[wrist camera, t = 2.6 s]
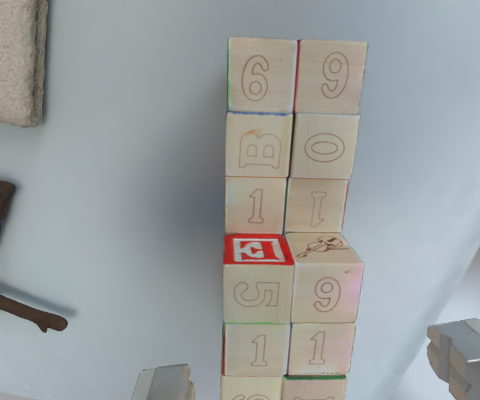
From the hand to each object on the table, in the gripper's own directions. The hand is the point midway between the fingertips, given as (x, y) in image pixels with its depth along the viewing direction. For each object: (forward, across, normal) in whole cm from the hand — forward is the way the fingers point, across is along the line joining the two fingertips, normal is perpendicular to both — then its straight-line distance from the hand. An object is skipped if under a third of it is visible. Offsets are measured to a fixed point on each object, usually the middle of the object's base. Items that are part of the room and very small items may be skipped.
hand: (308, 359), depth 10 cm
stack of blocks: (+16, 0, 0) cm, 16 cm away
